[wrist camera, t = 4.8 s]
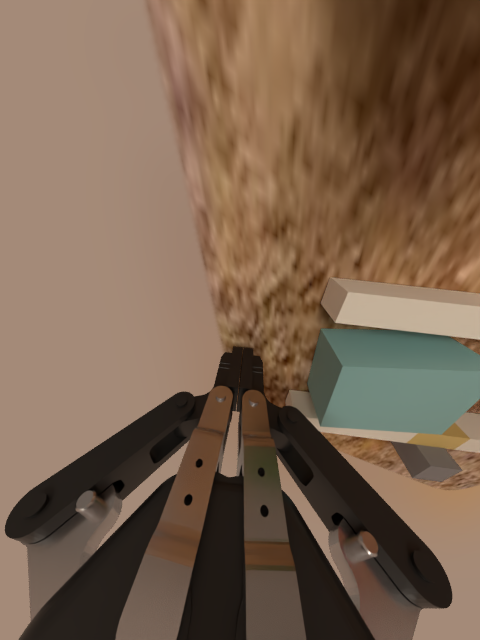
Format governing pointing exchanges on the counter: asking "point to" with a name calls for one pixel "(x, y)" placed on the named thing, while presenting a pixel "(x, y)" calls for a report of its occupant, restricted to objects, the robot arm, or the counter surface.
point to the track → (415, 316)
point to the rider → (392, 380)
